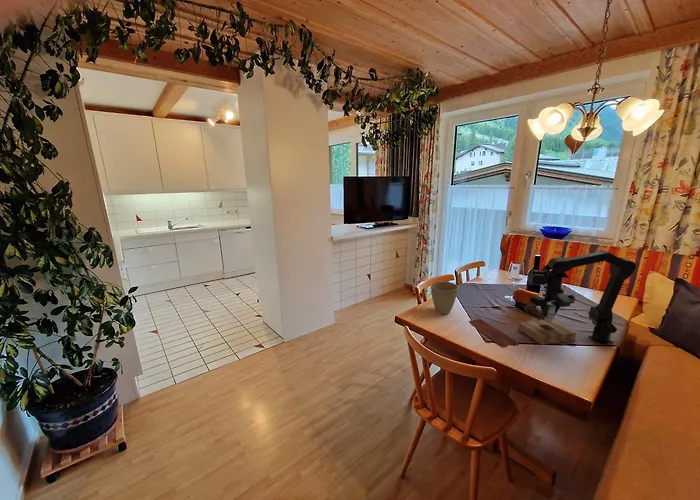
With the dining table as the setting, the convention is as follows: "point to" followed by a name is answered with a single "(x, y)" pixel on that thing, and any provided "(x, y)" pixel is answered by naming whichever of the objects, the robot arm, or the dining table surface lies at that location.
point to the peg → (550, 312)
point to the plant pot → (443, 296)
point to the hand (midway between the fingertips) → (548, 316)
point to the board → (547, 331)
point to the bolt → (533, 311)
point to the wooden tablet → (493, 333)
